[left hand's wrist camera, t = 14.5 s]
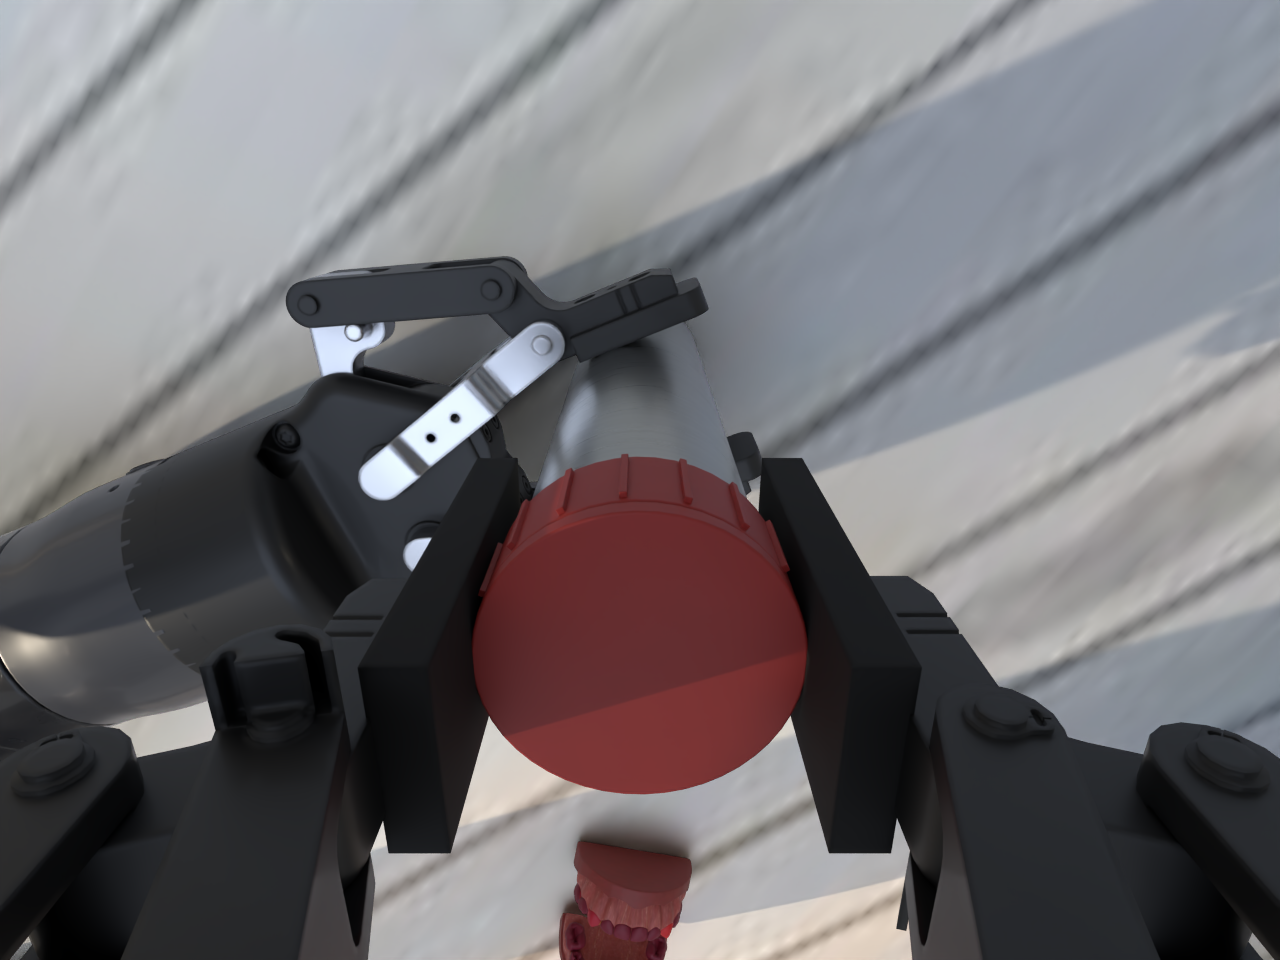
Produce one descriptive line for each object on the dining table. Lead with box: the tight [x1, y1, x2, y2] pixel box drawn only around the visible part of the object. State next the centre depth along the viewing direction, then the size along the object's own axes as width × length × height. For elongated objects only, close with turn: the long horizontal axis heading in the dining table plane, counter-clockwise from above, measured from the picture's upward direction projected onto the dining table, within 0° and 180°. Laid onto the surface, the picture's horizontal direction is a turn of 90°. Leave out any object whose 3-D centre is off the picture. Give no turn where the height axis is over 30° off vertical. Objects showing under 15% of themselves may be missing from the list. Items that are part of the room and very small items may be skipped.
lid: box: [472, 454, 808, 794], centre depth 11 cm, size 5×5×2 cm
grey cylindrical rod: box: [532, 322, 747, 499], centre depth 19 cm, size 4×4×18 cm
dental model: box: [559, 841, 692, 960], centre depth 36 cm, size 6×4×8 cm
